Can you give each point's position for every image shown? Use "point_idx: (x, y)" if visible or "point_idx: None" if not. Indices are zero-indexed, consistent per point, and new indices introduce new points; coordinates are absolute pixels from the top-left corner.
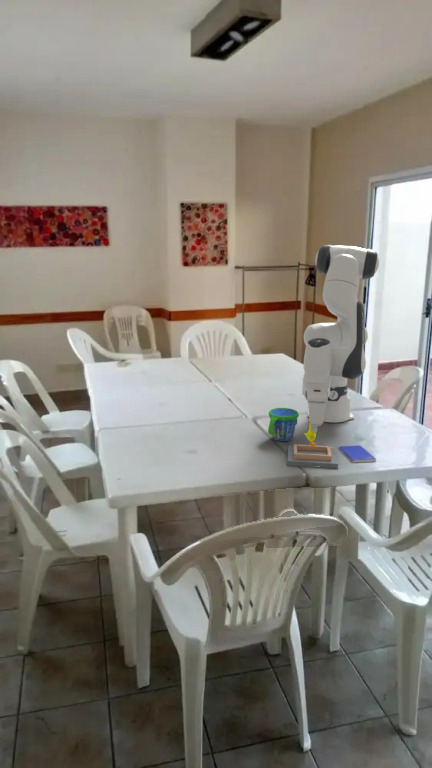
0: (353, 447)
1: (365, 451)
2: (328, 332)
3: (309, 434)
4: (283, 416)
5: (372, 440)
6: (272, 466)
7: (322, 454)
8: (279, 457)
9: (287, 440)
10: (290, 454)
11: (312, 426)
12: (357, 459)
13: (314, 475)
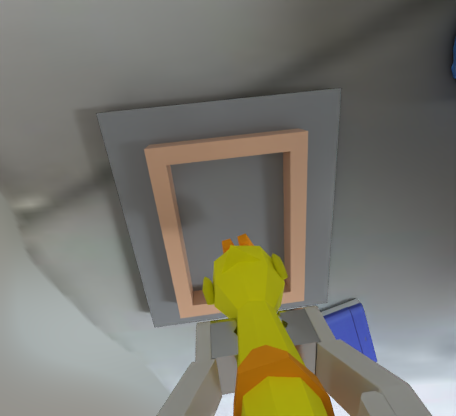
0: (353, 347)
1: None
2: None
3: (216, 283)
4: None
5: (438, 376)
6: (49, 21)
7: None
8: (203, 51)
9: (453, 73)
10: (200, 119)
11: (186, 377)
12: None
13: (42, 245)
